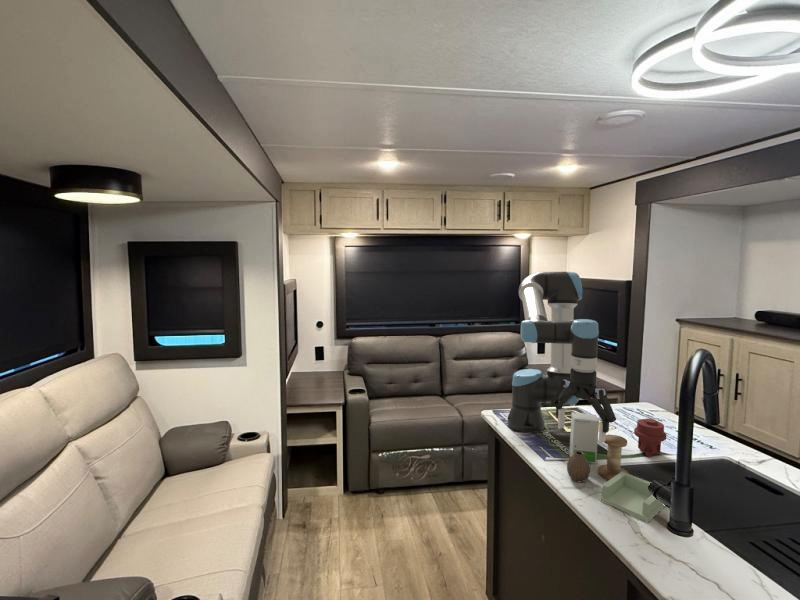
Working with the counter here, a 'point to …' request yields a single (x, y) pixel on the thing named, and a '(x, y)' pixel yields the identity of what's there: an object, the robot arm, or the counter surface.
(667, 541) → the counter surface
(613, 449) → the bobbin
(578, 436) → the skincare box
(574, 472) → the vase
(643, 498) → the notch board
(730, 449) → the counter surface
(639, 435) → the mechanical component
